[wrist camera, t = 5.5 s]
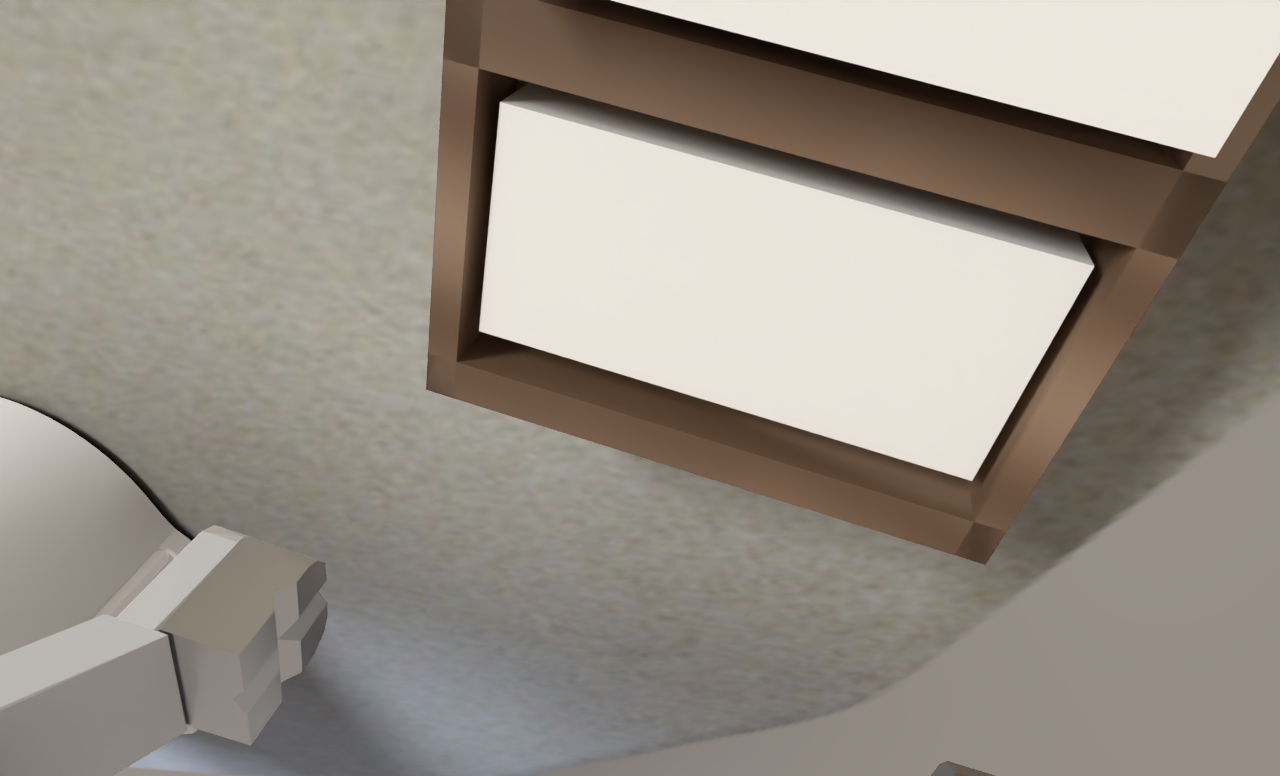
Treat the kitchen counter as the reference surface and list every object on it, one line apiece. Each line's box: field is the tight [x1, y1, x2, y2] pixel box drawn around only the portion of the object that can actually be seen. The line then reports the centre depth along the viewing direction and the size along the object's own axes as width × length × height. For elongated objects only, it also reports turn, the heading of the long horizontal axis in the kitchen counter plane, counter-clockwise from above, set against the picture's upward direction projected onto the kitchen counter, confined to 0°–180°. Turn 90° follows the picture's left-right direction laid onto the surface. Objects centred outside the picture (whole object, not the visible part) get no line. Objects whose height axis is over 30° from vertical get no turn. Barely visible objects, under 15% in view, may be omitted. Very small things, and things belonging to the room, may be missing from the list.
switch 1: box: [479, 83, 1094, 481], centre depth 20 cm, size 6×13×2 cm, turn 78°
